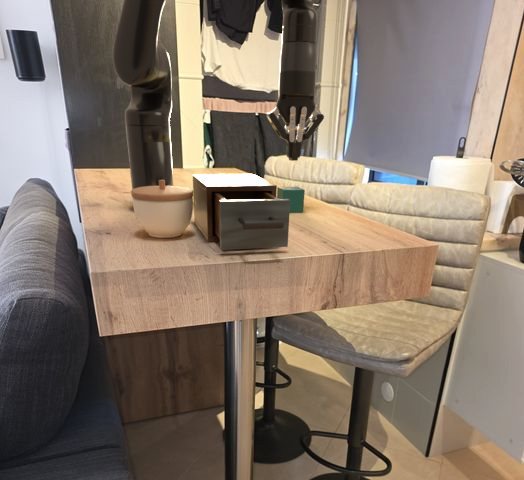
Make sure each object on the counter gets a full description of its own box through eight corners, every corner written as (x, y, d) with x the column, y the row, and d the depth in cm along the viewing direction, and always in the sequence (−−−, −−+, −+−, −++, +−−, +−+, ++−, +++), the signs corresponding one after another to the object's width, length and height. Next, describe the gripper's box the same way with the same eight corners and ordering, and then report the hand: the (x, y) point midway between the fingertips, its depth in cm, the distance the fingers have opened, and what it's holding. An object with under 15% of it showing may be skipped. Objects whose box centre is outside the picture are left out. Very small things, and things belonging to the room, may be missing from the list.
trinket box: (132, 229, 86) (126, 176, 82) (187, 226, 90) (185, 175, 85) (139, 243, 77) (133, 185, 73) (200, 239, 81) (199, 183, 77)
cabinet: (274, 239, 83) (276, 185, 78) (207, 241, 79) (206, 186, 75) (252, 220, 96) (253, 174, 92) (194, 222, 93) (192, 174, 89)
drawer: (298, 255, 70) (301, 205, 67) (227, 258, 67) (227, 207, 64) (263, 227, 87) (264, 186, 83) (205, 229, 84) (204, 187, 80)
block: (276, 208, 109) (277, 186, 107) (296, 208, 110) (297, 186, 108) (283, 212, 105) (284, 190, 103) (303, 212, 106) (304, 189, 104)
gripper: (320, 73, 99) (314, 158, 107) (262, 69, 96) (260, 158, 104) (334, 70, 92) (326, 162, 100) (272, 67, 89) (269, 161, 97)
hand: (292, 160), depth 102 cm, fingers closed
